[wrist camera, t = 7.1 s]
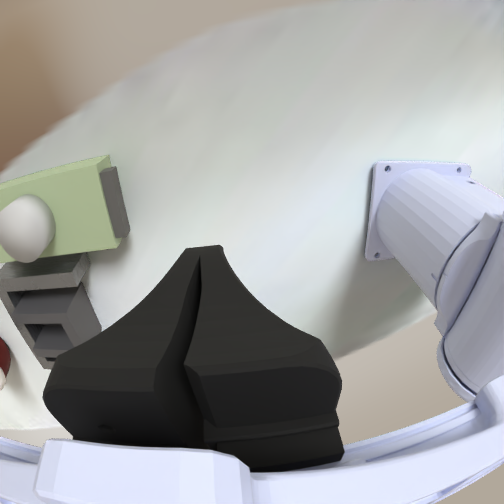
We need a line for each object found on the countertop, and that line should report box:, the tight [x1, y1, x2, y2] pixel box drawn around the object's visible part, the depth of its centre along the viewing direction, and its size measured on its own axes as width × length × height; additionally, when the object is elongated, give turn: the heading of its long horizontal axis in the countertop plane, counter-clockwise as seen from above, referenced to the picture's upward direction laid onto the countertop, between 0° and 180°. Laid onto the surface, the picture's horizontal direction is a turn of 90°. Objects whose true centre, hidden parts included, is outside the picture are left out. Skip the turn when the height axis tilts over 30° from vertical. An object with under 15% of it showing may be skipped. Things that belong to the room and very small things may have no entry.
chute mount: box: [0, 252, 90, 369], centre depth 23 cm, size 9×11×3 cm
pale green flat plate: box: [0, 155, 130, 263], centre depth 17 cm, size 12×6×4 cm, turn 94°
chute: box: [11, 282, 102, 358], centre depth 22 cm, size 6×5×4 cm
